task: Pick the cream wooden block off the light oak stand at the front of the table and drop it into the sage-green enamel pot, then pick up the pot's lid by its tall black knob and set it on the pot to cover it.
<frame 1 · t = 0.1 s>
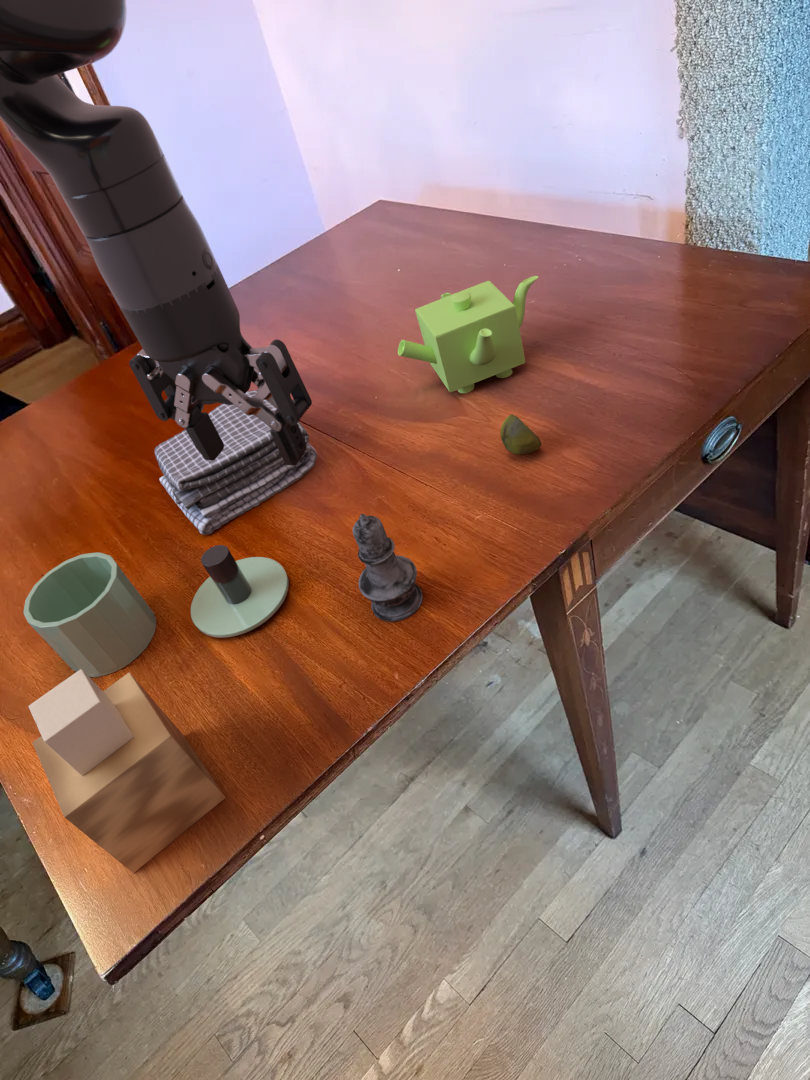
hand: (255, 456, 63), 20 cm above the table, tool pointing down, fingers open, 8 cm apart
block: (99, 739, 58), point 10 cm above the table, touching stand
towel: (243, 478, 98), on the table
stand: (160, 799, 65), on the table
pot: (113, 639, 82), on the table
lid: (240, 596, 80), point 1 cm above the table
kettle: (481, 374, 101), on the table
chess piece: (397, 602, 75), on the table
olive green rock: (524, 452, 86), on the table
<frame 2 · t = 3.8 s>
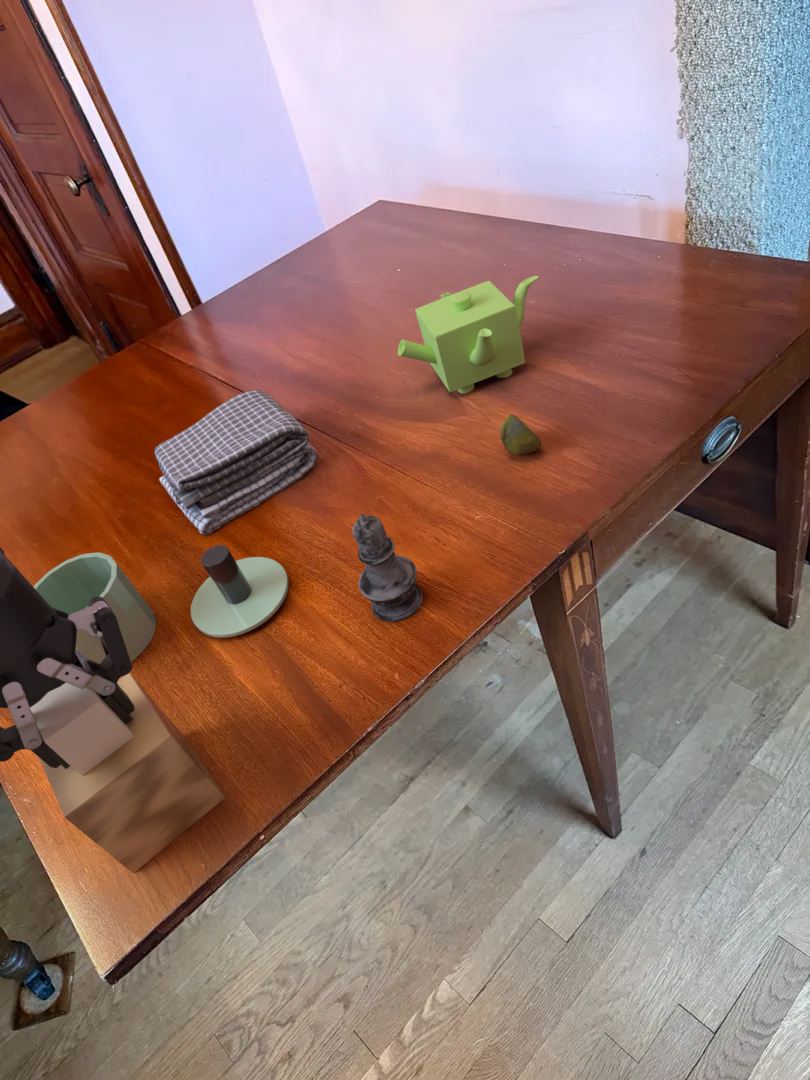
hand: (97, 736, 58), 10 cm above the table, tool pointing down, fingers closed on block, 4 cm apart
block: (99, 739, 58), point 10 cm above the table, touching gripper, stand
everything else where it was.
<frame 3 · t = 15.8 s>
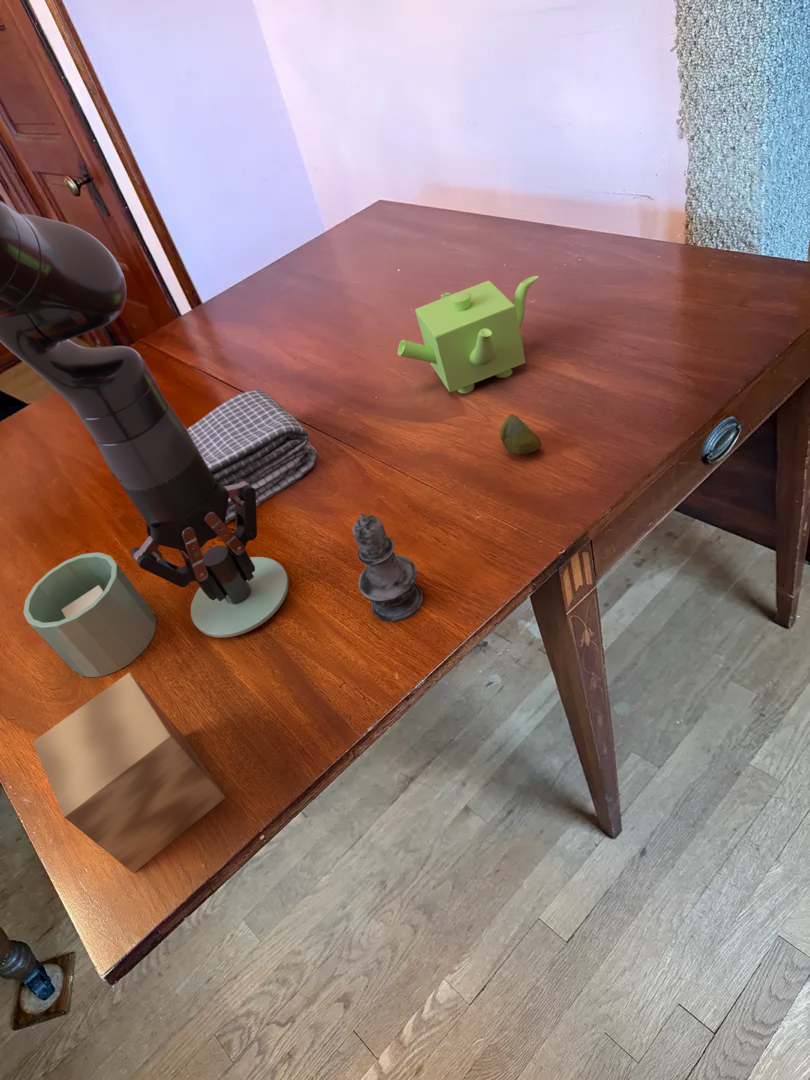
hand: (233, 585, 79), 2 cm above the table, tool pointing down, fingers closed on lid, 3 cm apart
block: (110, 636, 81), resting on pot
lid: (240, 596, 80), point 1 cm above the table, touching gripper
everything else where it was.
when the fingers open (10 cm above the table, at t = 23.4 s): lid stays where it is, resting on pot.
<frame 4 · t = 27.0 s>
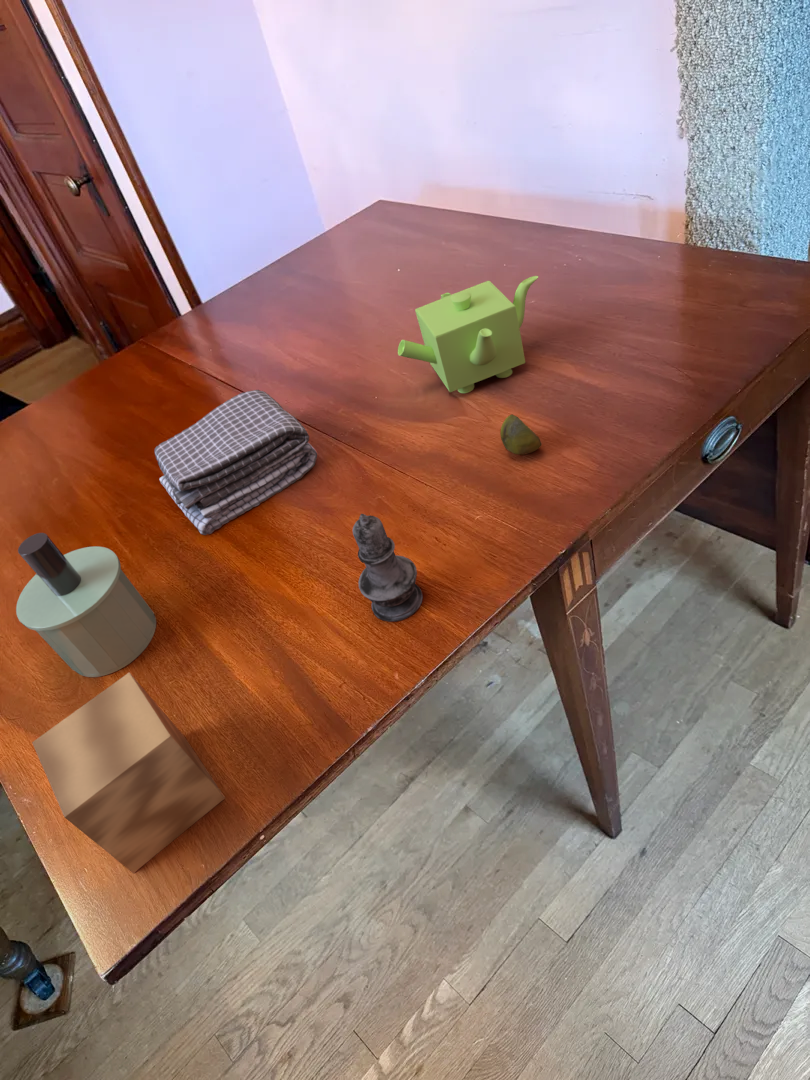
lid: (70, 588, 76), point 8 cm above the table, touching pot
everything else where it was.
at the end: block inside the target area in the pot (0.0 cm from its centre), point 0.5 cm above the pot's base; lid 0.0 cm off-centre on the pot, point 8.5 cm above the pot's base; lid tilted 0° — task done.
